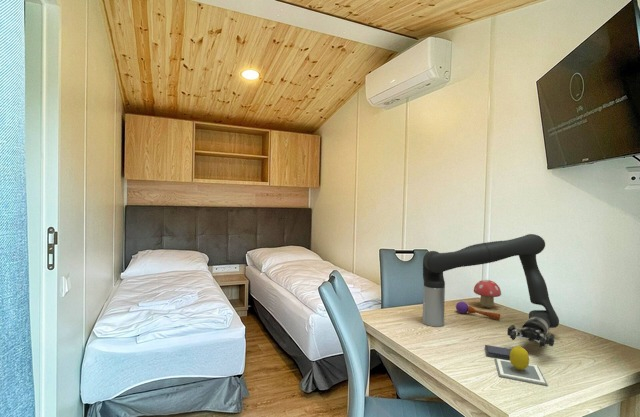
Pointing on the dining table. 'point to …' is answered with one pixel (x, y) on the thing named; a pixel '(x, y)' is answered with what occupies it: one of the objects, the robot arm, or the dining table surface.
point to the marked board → (520, 372)
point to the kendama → (475, 311)
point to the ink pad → (497, 352)
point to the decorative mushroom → (487, 292)
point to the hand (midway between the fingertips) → (526, 340)
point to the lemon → (519, 358)
